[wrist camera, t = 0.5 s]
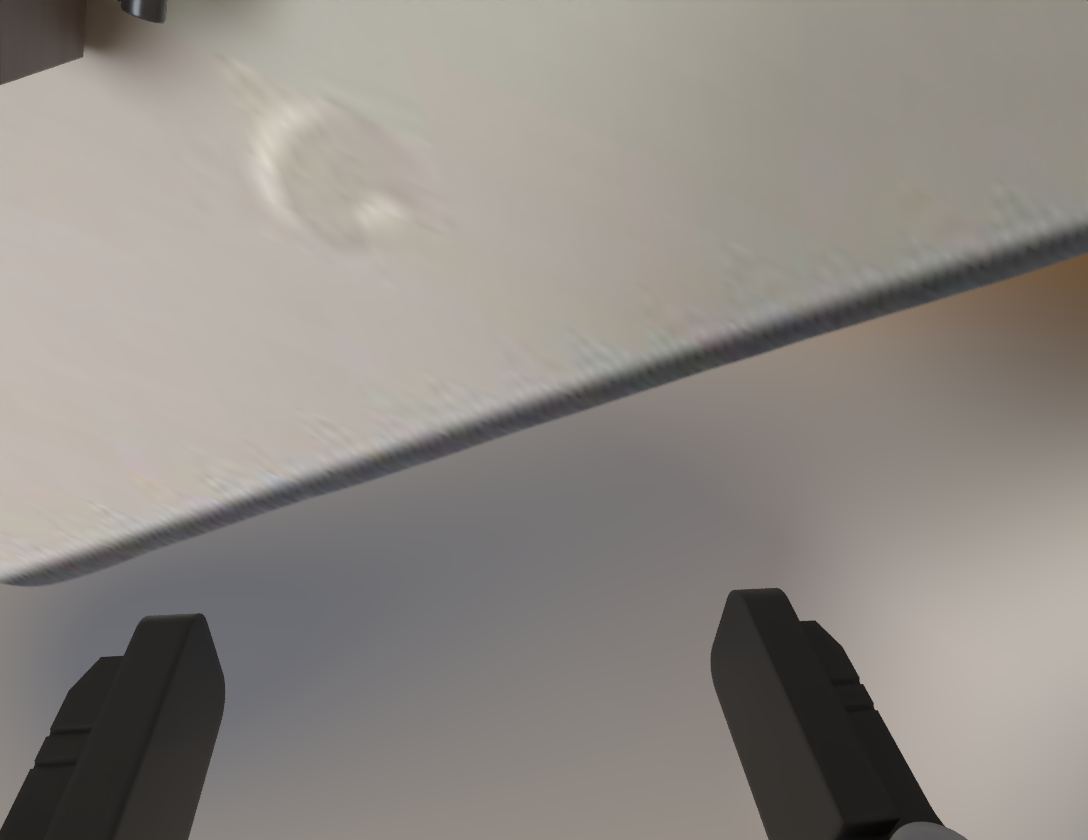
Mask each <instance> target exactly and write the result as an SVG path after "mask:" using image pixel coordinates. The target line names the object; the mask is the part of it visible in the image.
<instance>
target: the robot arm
mask: <svg viewBox="0 0 1088 840" xmlns="http://www.w3.org/2000/svg"><path fill="white" fill-rule="evenodd" d="M711 672H712V679H713V683H714V687H715V690H716V693H717V696H718V699H719V702H720V704H721V707H722V710H723V713H724V716H725V718H726V721H727V724H728V727H729V730H730V732H731V735H732V738H733V741H734V743H735V746H736V749H737V752H738V755H739V758H740V760H741V763H742V766H743V769H744V772H745V775H746V777H747V780H748V783H749V786H750V788H751V791H752V794H753V797H754V800H755V803H756V805H757V808H758V811H759V813H760V817H761V819H762V822H763V825H764V828H765V831H766V834H767V836H768V839H769V840H967V839H966V838H965V837H963V836H962V835H960V834H958V833H957V832H955V831H953V830H951V829H949V828H947V827H945V826H944V825H943V823H942V822H941V821H940V819H939V818H938V817H937V815H936V814H935V812H934V811H933V809H932V807H931V806H930V804H929V802H928V801H927V799H926V797H925V795H924V793H923V792H922V790H921V788H920V786H919V784H918V782H917V781H916V779H915V777H914V775H913V773H912V772H911V770H910V768H909V766H908V764H907V763H906V761H905V759H904V757H903V755H902V754H901V752H900V750H899V748H898V746H897V745H896V743H895V741H894V739H893V737H892V736H891V734H890V732H889V730H888V728H887V727H886V725H885V723H884V721H883V720H882V717H881V716H880V714H879V712H878V710H875V709H874V706H873V705H874V703H873V701H872V699H871V698H870V696H869V694H868V692H867V691H866V689H865V687H864V685H863V684H860V682H859V676H858V674H857V672H856V671H855V669H854V667H853V665H852V663H851V662H850V660H849V658H848V656H847V654H846V653H845V651H844V649H843V647H842V646H841V645H840V644H839V643H838V642H837V641H836V640H835V639H834V638H833V637H832V636H831V635H830V634H829V633H827V631H825V630H824V629H823V628H822V627H821V626H820V625H819V624H818V623H817V622H816V621H799V619H798V617H797V615H796V613H795V611H794V609H793V607H792V605H791V603H790V601H789V599H788V598H787V596H786V595H785V593H784V592H783V591H782V590H781V589H779V588H766V589H745V590H733V591H731V592H730V594H729V595H728V598H727V601H726V604H725V607H724V610H723V614H722V617H721V620H720V624H719V627H718V630H717V633H716V637H715V640H714V643H713V646H712V650H711ZM224 703H225V681H224V675H223V672H222V669H221V665H220V662H219V659H218V656H217V652H216V649H215V646H214V643H213V640H212V637H211V633H210V630H209V627H208V624H207V621H206V618H205V617H204V615H203V614H200V613H199V614H178V615H159V616H146V617H144V618H143V619H142V620H141V621H140V623H139V624H138V626H137V628H136V630H135V632H134V634H133V636H132V639H131V641H130V643H129V645H128V648H127V650H126V652H125V654H124V656H113V657H101V658H100V659H99V660H98V661H97V662H96V663H95V664H94V665H93V666H92V667H91V668H90V669H89V670H88V671H87V672H86V673H85V674H84V676H83V677H82V678H81V679H80V680H79V681H78V682H77V683H76V684H75V685H74V686H73V687H72V688H71V689H70V690H69V692H68V694H67V696H66V698H65V700H64V702H63V704H62V706H61V708H60V710H59V712H58V714H57V716H56V718H55V720H54V722H53V724H52V726H51V728H50V730H51V732H50V735H49V736H48V737H46V738H45V741H44V742H43V745H42V747H41V749H40V751H39V753H38V755H37V757H36V759H35V766H34V768H33V769H30V771H29V773H28V775H27V777H26V779H25V781H24V783H23V785H22V787H21V789H20V791H19V793H18V795H17V797H16V799H15V801H14V804H13V806H12V808H11V810H10V812H9V814H8V816H7V818H6V820H5V822H4V824H3V826H2V828H1V830H0V840H188V838H189V834H190V831H191V827H192V823H193V820H194V816H195V813H196V809H197V806H198V802H199V799H200V795H201V791H202V788H203V784H204V781H205V777H206V773H207V770H208V766H209V763H210V759H211V756H212V752H213V749H214V745H215V742H216V738H217V734H218V731H219V727H220V724H221V720H222V716H223V710H224Z"/></svg>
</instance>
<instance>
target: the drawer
mask: <svg viewBox="0 0 1088 840" xmlns="http://www.w3.org/2000/svg"><path fill="white" fill-rule="evenodd" d="M115 1H117V2H120V1H121V8H122V10H123V11H125V12H126V13H128V14H130V15H132V16H134V17H137V18H139V19H142V20H145V21H149V22H153V23H164V22H165V18H166V9H167V0H115ZM85 11H86V0H0V85H2V84H5V83H8V82H11V81H14V80H17V79H20V78H23V77H26V76H29V75H32V74H34V73H37V72H40V71H43V70H46V69H49V68H52V67H55V66H58V65H61V64H64V63H67V62H70V61H73V60H76V59H79V58H82V57H83V51H84V31H85Z"/></svg>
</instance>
